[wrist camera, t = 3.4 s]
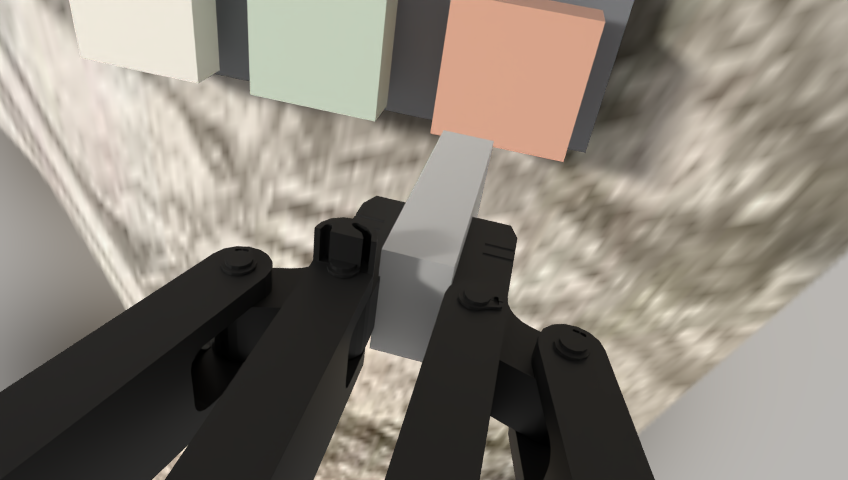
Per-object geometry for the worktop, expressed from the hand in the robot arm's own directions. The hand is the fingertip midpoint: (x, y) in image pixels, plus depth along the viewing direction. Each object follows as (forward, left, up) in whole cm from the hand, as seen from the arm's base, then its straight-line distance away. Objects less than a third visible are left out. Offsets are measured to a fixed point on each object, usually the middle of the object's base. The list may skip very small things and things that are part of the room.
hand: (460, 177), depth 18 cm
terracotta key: (+1, -1, -15) cm, 15 cm away
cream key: (-19, -1, -15) cm, 25 cm away
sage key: (-9, -1, -15) cm, 18 cm away
